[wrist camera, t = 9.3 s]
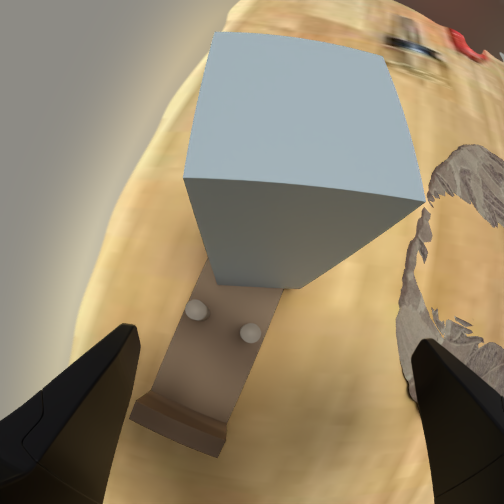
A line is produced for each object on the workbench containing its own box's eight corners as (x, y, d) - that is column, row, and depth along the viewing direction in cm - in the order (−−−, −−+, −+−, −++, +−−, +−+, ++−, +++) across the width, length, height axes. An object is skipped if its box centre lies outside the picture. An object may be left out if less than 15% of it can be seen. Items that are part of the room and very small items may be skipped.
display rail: (220, 431, 17) (217, 458, 12) (150, 401, 17) (129, 418, 13) (335, 138, 23) (352, 103, 19) (280, 116, 23) (288, 78, 19)
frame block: (299, 288, 18) (425, 202, 6) (214, 284, 18) (172, 177, 5) (299, 212, 19) (382, 56, 7) (220, 207, 19) (207, 31, 7)
